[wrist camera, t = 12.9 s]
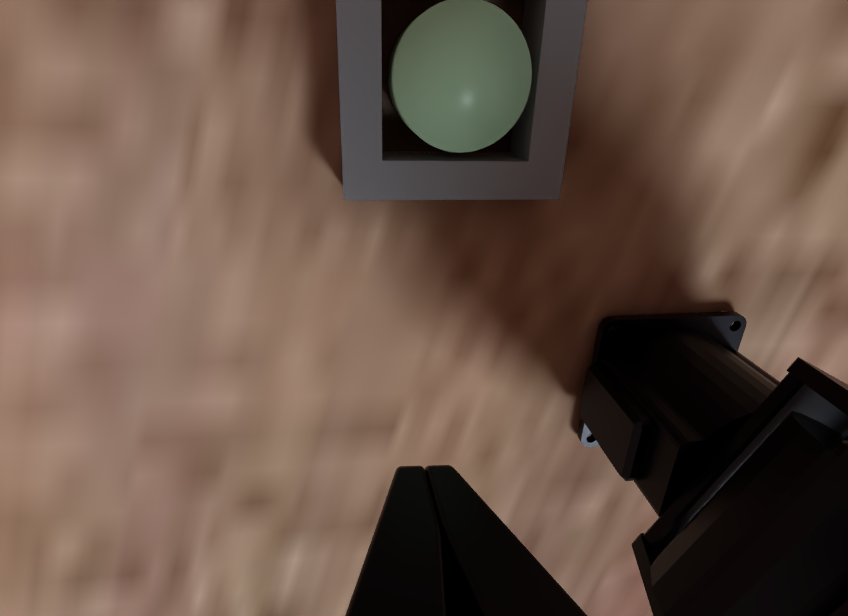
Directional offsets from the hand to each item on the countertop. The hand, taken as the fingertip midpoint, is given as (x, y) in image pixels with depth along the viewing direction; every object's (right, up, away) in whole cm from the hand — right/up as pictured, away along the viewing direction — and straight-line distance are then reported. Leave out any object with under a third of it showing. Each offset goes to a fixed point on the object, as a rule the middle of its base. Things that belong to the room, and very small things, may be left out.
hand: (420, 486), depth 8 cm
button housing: (+1, +10, +9) cm, 13 cm away
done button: (+1, +10, +8) cm, 13 cm away
